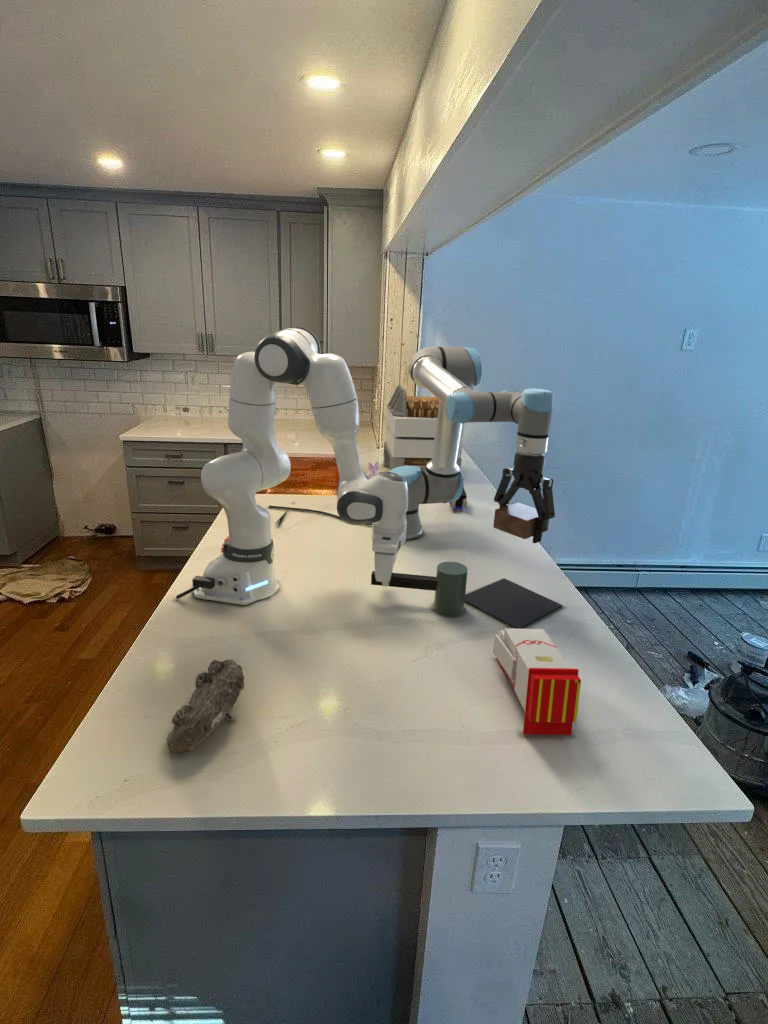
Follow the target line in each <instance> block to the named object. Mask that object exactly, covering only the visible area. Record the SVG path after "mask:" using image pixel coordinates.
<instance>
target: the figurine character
mask: <svg viewBox="0 0 768 1024" xmlns="http://www.w3.org/2000/svg"><path fill="white" fill-rule="evenodd" d="M467 495H468V494H467V493H466V490H465V487H463V491H462V494H461V496H460V497H459V498H458V499H457V500H456V501H454V502H448V504H449V506H450V507H451V508H452V510H453V512H456V510H458V509H459V510H460V512H463V509H464V508H465V509H466V508H467V506H468V499H467V497H468V496H467Z"/></svg>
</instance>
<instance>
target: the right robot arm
mask: <svg viewBox="0 0 768 1024" xmlns="http://www.w3.org/2000/svg"><path fill="white" fill-rule="evenodd" d="M408 373H409V377H410V379H411V380H412V381H413V383H414V384H415V385H417V386H418V387H419V388H422V389H426V390H427V391H428V392H430V393H431V394H432V395H433V396H434V397H437V398H438V399H439V400H440V401H439V409H438V416H437V423H436V430H435V437H434V445H433V452H432V459H431V461H429V462H428V463H427V464H426V466H425V470H422V469H421V467H420V466H407V465H404V466H400V467H396V468H394V469H392V470H390V469H389V470H388V472H392V473H396V474H398V475H400V476H402V477H403V478H404V479H405V480H406V482H407V485H408V510H407V512H406V521H407V528H406V541H410V540H415V539H418V538H420V537H421V536H422V535H423V525H422V524H421V518H420V515H419V507H420V505H428V504H447V503H448V504H449V502H454V501H456V500H457V499H458V498H459V497H460V496H461V494H462V491H463V487H464V486H465V485H464V484H465V482H464V480H465V479H464V475H463V472H462V470H461V471H460V470H459V466H458V465H457V464H456V460H457V454H458V448H459V442H460V439H461V438H460V436H461V430H462V423H464V424H469V423H514V424H517V431H516V432H517V433H516V434H517V435H516V441H515V442H516V443H515V450H516V452H514V456H513V457H514V458H513V467H512V466H511V467H510V466H509V467H505V468H503V469H502V477H501V478H500V482H499V485H498V486H497V490H496V492H495V495H494V498H493V501H494V502H495V503H497V504H498V505H499V508H502V507H506V506H509V505H510V502H511V500H512V499H513V497H514V496H515V495H516V493H517V492H518V491H519V490H520V489H524V490H525V491H528V492H529V494H530V495H531V498H532V501H533V504H534V508H536V511H537V514H538V517H539V518H536V521H535V528H534V535H533V536H532V541H531V542H532V544H537V543H540V542H542V537H543V533H542V531H545V529H546V522H547V519H549V520H550V519H554V518H556V512H555V502H554V492H553V485H554V479H553V478H547V477H544V475H543V471H544V469H545V463H546V458H547V457H546V455H545V454H546V453H547V451H548V442H549V434H550V428H551V421H552V417H553V416H552V415H553V411H554V397H555V396H554V392H553V391H551V390H548V389H543V388H525V389H523V390H522V392H519V391H517V390H509V389H505V390H502V391H497V392H496V391H491V392H490V391H475V390H474V387H476V386H478V385H480V383H481V382H482V379H483V375H484V365H483V360H482V357H481V354H480V353H479V351H478V350H477V349H476V348H474V347H467V346H437V345H436V346H435V345H433V346H427V347H424V348H421V349H420V350H418V351H417V352H416V353H414V354H413V356H412V357H411V359H410V361H409V365H408ZM512 477H513V479H514V480H513V481H512ZM511 481H512V482H511ZM510 483H511V484H510ZM464 488H465V487H464ZM268 508H270V509H280V510H288V511H289V510H291V511H301V512H309V513H316V514H321V515H325V516H330V517H334V518H336V519H339V520H342V519H341V518H340V517H339V515H337V514H334V513H331V512H325V511H321V510H315V509H310V508H300V507H289V506H279V505H271V504H270V505H268ZM363 525H364V526H372V523H370V524H363Z"/></svg>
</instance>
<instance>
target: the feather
mask: <svg viewBox="0 0 768 1024" xmlns="http://www.w3.org/2000/svg"><path fill="white" fill-rule="evenodd" d="M287 512H288V510H286V511H285V512H284V513H283V514H282V515H281V517H280V518H278V520H277V521H276V522H275V523H274V524H276V523H277V524H278V526H277V527H278V528H279V527H280V525H281V524H282V522H283V519H284V518H285V516H286V514H287Z"/></svg>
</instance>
